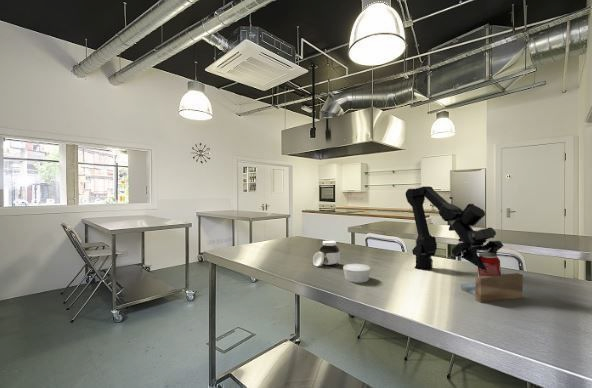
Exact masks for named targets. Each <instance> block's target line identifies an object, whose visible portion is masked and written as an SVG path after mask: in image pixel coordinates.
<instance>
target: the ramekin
mask: <svg viewBox="0 0 592 388" xmlns="http://www.w3.org/2000/svg"><path fill="white" fill-rule="evenodd" d="M342 269H343V273H344V278H345V280H346V281H348V282H349V283H355V284H361V283H366V282H368V281H369V280H370V273H371V267H370V266H369V265H366V264H364V263H348V264H344V265H343V267H342Z"/></svg>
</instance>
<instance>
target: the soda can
mask: <svg viewBox="0 0 592 388" xmlns="http://www.w3.org/2000/svg"><path fill="white" fill-rule="evenodd" d="M478 256H479V258H480V259H481V261H482V263H483V264H484V266H485V268H486V269H485V270H482V269H481V268H479V267H477V277H480V276H491V275H502V271H501V260H500V259H499V258H498V253H497V254H494V253H484V252H480V253H478Z"/></svg>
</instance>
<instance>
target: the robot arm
mask: <svg viewBox="0 0 592 388" xmlns="http://www.w3.org/2000/svg"><path fill="white" fill-rule="evenodd" d="M405 198H406V202H407V203H408V204H409V205H410V206H411V208H412V211H413V212H412V213H413V216H414V222H415V227H416V231H417V237H416V240H415V246H414V248H413V249H412V250H411V252H412V256H415V266H414V269H419V270H424V271H430V270H431V269H433V267H434V266H433V262H434V260H433V258H432V256H433V257H435V254H436V252H437V249H438V244H437V240H436V237H435V236H432V235H431V234H430V230H429V227H428V223H427V217H426V213H425V209H424V203H425V201H426V200H428V201H429V202H430V203H431V204H432V205H433V206H434V207H435V208H436V209H437V210H438V214H439V216H440V218H441V219H442V220H443V221H444V222H452V223H450V224H449V227H448V231H449V232H451V231H452V232H453V231H454V232H455V233H456V235H457V236H458V239H457V240H458V243H457V244H456V245H455V246H454V247H452V249H451V254H452V255H453V256H454V257H455V258H456V257H457V258H459V257H460V258H461V259H464V260H466V261H468V262H469V263H471V264H473V265H475V266H476V267H477V268H478V267H479V268H481V269H482V270H485V269H486V268H485V266H484V264H483V263H482V261H481V259H480V258H479V254H478V252H479V251H482V253H494V254H497V255H498V253H497V252H498V251H500V249H502V248H504V244H503V242H501V241H500V240H490V239H495V236H496V235H497V232H496V231H495V229H494V228H493V227H487V228H483V229H482V228H481V229H478V230H474V229H473V228H472V226H474V227H475V226H476V225H477V224H479V222H480V221H481V220H482V219H483V218H484V217H485V216H486V212H485V210H484V209H482V208H480V207H479V206H477V205H475V204H474V203H468V204H467V205H466V206H465V208H464V209H462V208H461V207H459V206H457V205H455V204H452V203H450V202H448V201H447V200H446V199H445V198H443V197H442V196H441V195H440V194H439V193H438V192H436V191H435V190H434V188H433V187H432V186H419V187H417V188H408V189H407V190H406V191H405ZM488 240H489V241H488Z"/></svg>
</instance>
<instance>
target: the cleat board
mask: <svg viewBox="0 0 592 388" xmlns="http://www.w3.org/2000/svg"><path fill="white" fill-rule="evenodd" d="M523 276H524V274H522V273H518V272H516V273H515V272H514V273H505V274H503V273H501V275H491V276H480V277H478V276H475V282H469V283H461V284H460V290H461V291H464V292H466V293H469V294H471V295H473V296H475V299H474V300H475V302H479V303H488V302H498V301H505V300H513V299H522V298H524V297H523V295H524V294H523V290H524V289H523V288H524V286H523V285H524V283H523V281H524V277H523Z"/></svg>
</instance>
